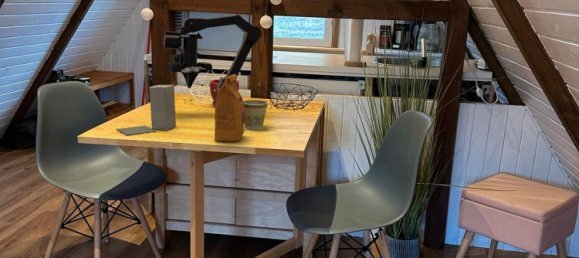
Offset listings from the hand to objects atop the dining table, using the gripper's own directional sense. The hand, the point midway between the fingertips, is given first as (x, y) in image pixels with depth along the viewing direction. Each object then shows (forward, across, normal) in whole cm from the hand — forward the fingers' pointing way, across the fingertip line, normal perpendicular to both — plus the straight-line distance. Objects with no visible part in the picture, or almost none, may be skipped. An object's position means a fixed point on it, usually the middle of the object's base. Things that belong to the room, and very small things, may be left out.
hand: (189, 88), depth 211 cm
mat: (+12, +29, +11) cm, 33 cm away
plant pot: (+12, -25, -8) cm, 29 cm away
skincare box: (+12, +19, +12) cm, 25 cm away
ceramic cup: (+10, -9, +32) cm, 35 cm away
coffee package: (+10, +9, +40) cm, 42 cm away
